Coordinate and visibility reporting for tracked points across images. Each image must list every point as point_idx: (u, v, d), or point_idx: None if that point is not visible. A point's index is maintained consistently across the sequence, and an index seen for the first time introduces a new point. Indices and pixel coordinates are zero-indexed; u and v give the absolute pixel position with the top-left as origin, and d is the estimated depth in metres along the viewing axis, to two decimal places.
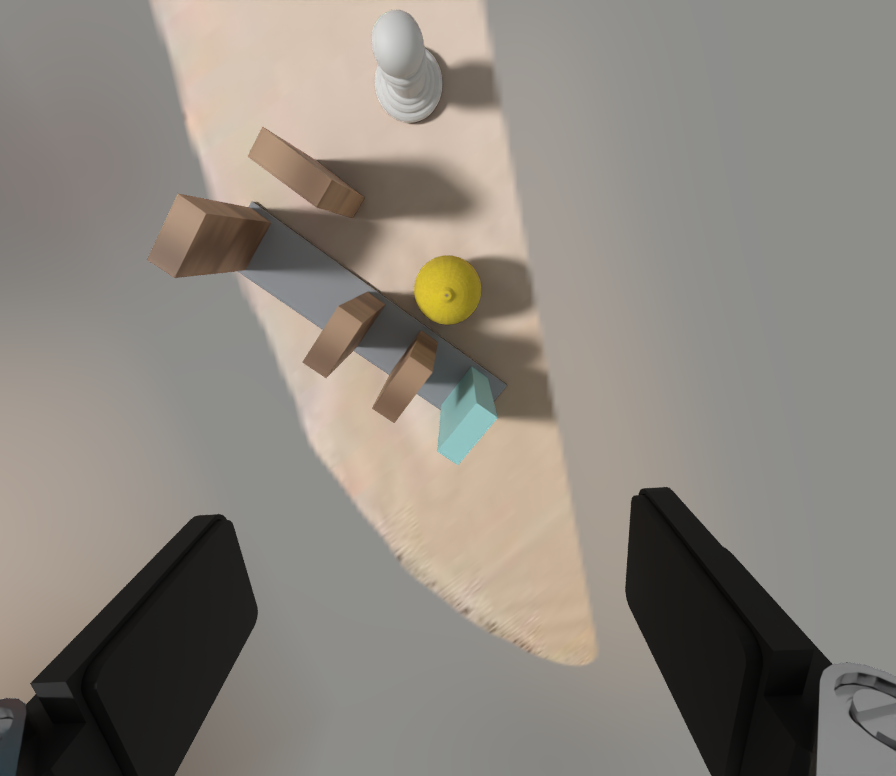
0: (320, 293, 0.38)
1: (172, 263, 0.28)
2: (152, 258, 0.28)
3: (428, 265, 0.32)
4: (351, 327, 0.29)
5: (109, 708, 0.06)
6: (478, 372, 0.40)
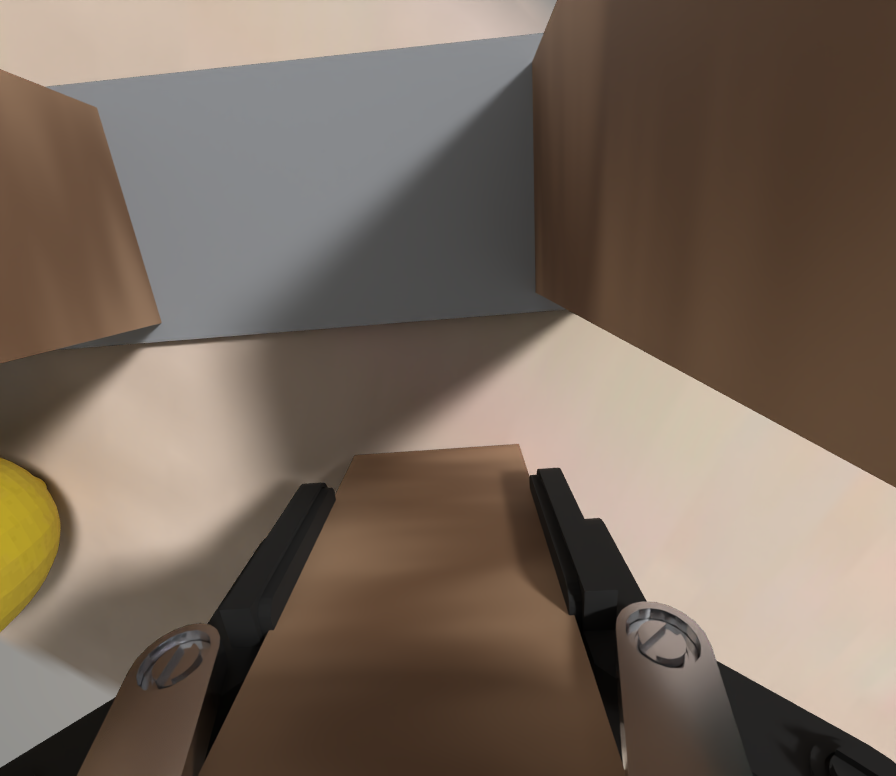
0: (263, 201, 0.10)
1: None
2: None
3: None
4: None
5: None
6: None
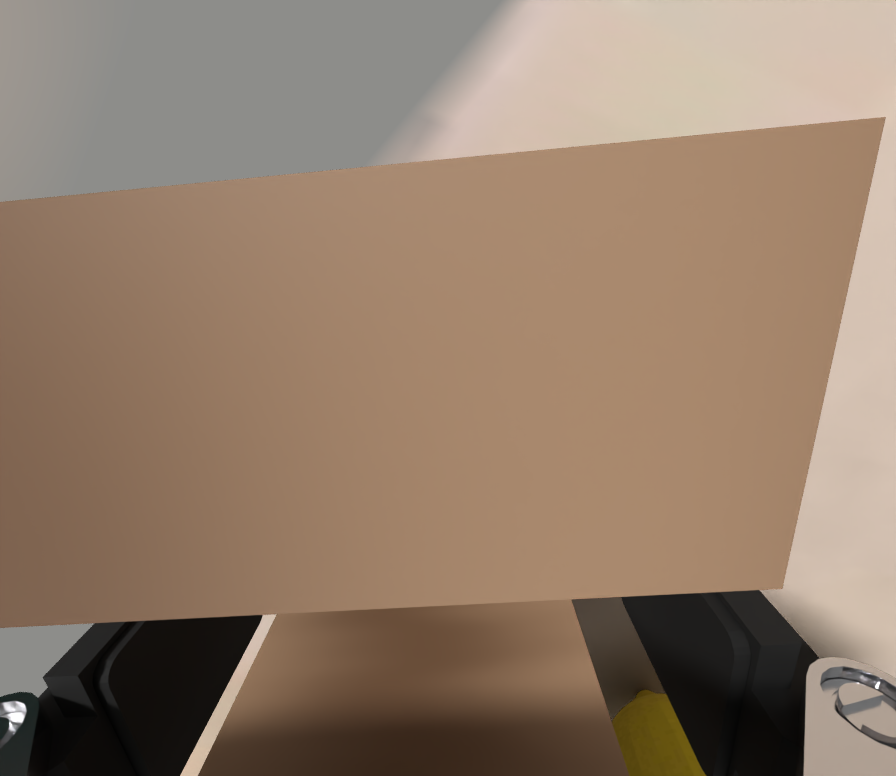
0: None
1: None
2: None
3: None
4: None
5: (120, 702, 0.06)
6: None
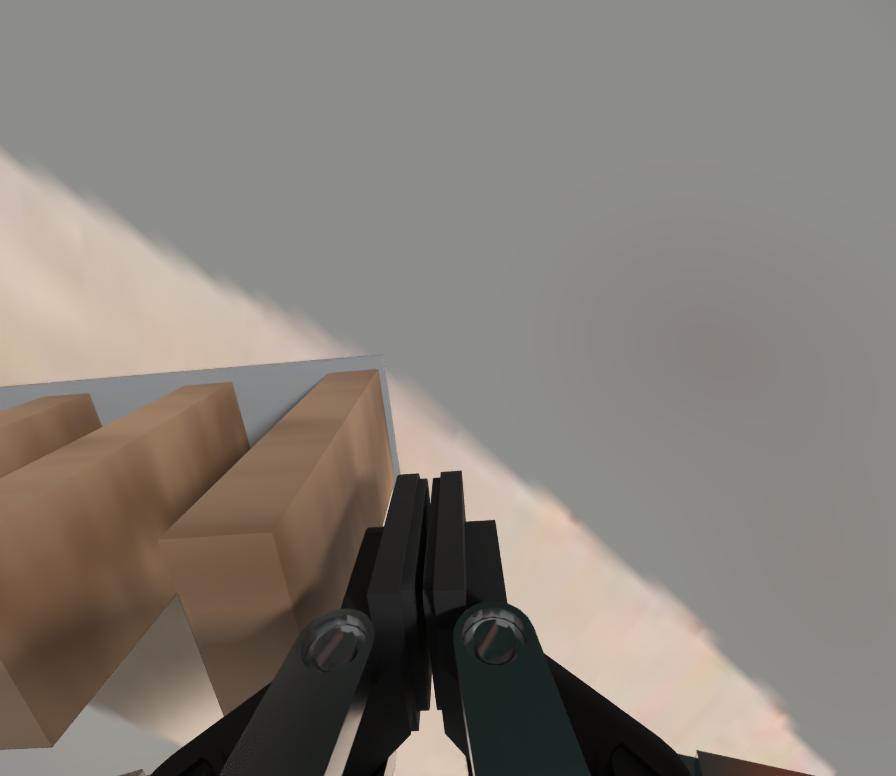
0: None
1: (199, 574, 0.07)
2: (259, 547, 0.07)
3: None
4: None
5: (415, 621, 0.07)
6: None
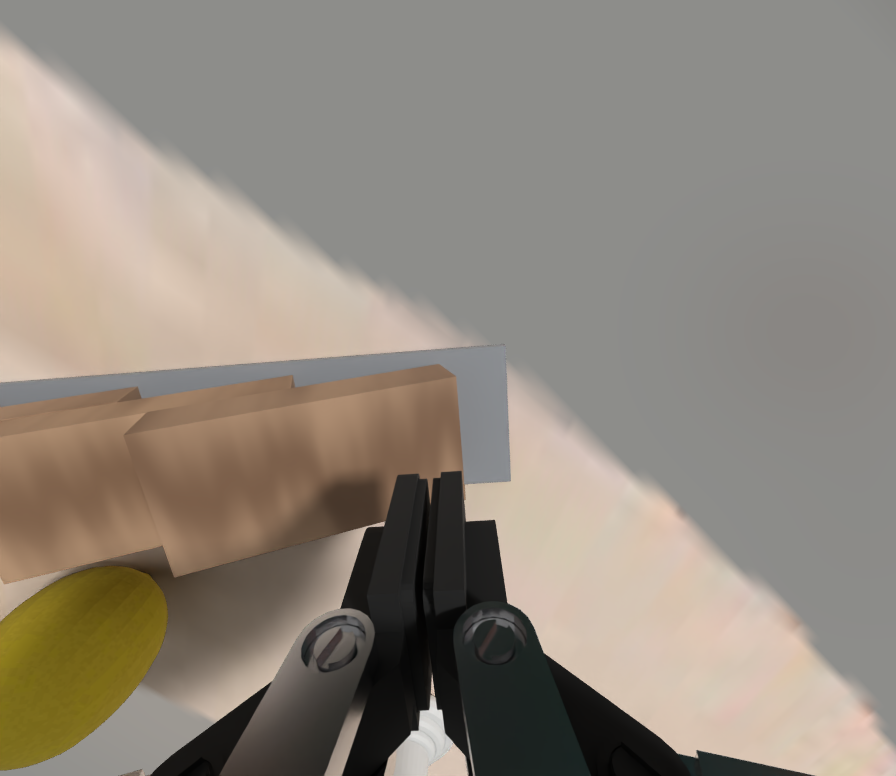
0: None
1: None
2: (129, 440, 0.12)
3: (108, 704, 0.15)
4: None
5: (415, 621, 0.07)
6: None
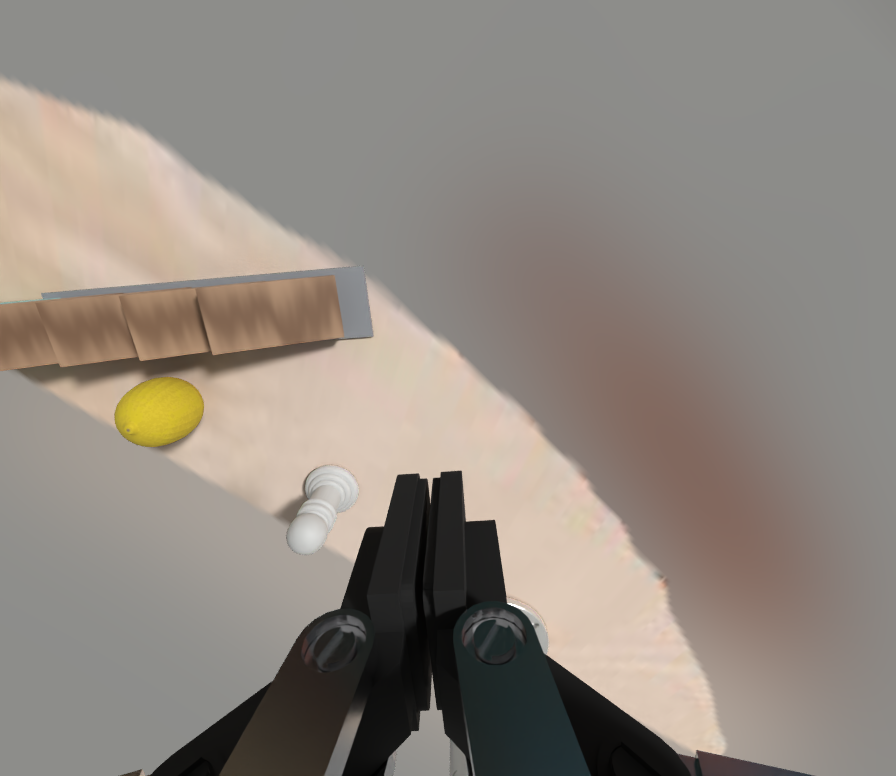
0: None
1: None
2: (197, 292, 0.31)
3: (181, 424, 0.34)
4: None
5: (415, 621, 0.07)
6: None
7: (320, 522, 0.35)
